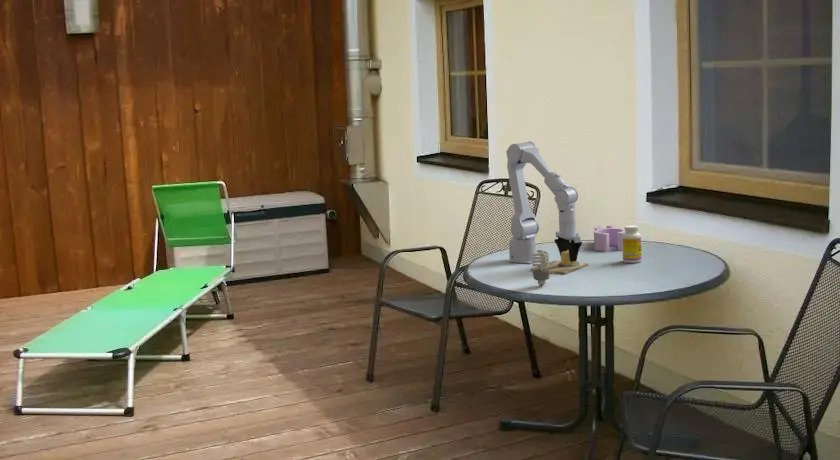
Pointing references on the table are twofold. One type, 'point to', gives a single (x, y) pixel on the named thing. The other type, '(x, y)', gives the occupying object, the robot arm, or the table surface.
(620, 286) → the table surface
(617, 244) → the clip
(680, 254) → the table surface
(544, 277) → the light bulb
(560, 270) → the stud plate
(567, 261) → the cap
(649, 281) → the table surface
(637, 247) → the supplement bottle
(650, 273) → the table surface
